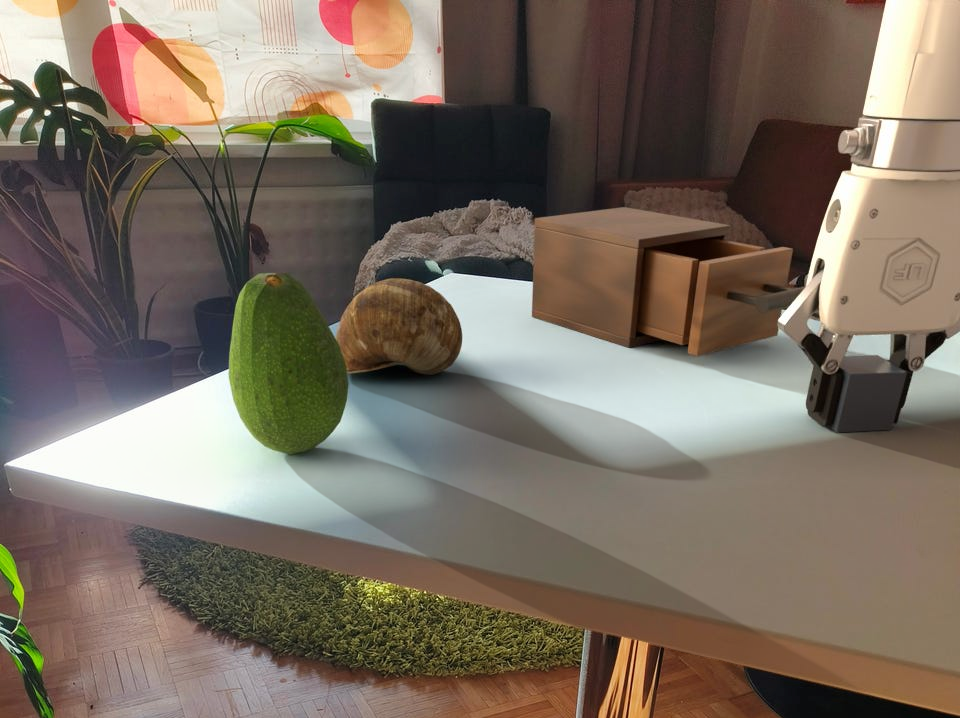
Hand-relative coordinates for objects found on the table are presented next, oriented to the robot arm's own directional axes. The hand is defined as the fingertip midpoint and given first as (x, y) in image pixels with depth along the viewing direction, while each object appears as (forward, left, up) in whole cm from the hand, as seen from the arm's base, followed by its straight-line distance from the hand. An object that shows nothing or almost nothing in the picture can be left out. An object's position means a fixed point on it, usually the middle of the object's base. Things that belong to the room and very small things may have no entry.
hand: (851, 416), depth 68 cm
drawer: (+5, -22, +1) cm, 22 cm away
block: (0, 0, 0) cm, 0 cm away
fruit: (+42, +1, -1) cm, 42 cm away
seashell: (+34, -16, -1) cm, 38 cm away
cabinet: (+10, -31, 0) cm, 33 cm away
